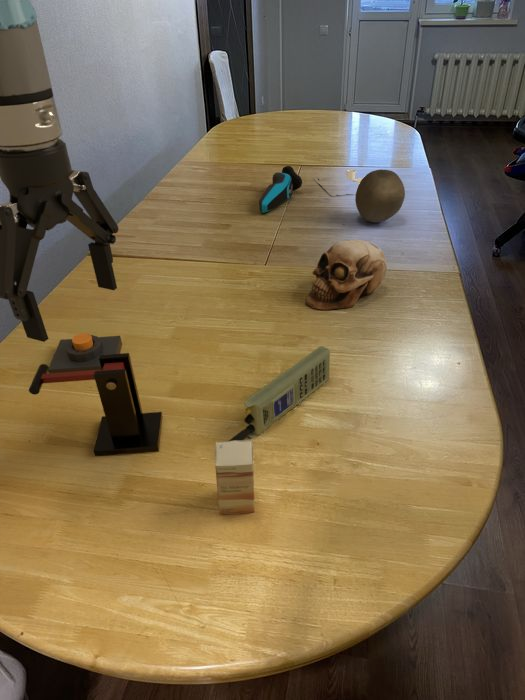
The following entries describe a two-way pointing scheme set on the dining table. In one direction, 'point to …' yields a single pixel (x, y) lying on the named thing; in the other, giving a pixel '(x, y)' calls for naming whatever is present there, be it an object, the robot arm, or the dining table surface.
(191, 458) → the dining table surface
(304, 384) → the handheld radio
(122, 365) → the switch lever
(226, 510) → the small printed carton
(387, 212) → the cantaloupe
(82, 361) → the control block
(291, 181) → the electric shaver
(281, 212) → the dining table surface
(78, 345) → the button
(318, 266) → the tan skull
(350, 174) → the teacup and saucer
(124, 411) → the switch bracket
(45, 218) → the robot arm
